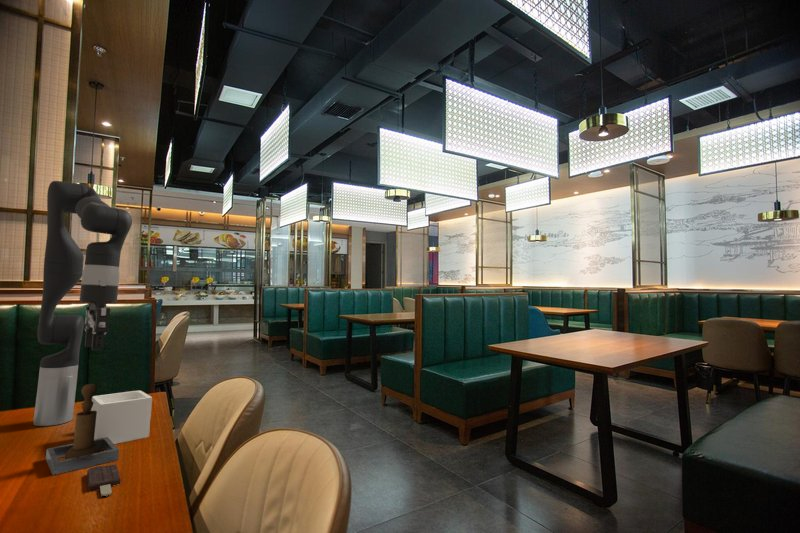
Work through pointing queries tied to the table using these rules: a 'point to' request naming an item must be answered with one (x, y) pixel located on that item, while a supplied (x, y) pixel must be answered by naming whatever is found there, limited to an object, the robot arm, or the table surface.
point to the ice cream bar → (103, 478)
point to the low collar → (81, 457)
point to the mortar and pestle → (85, 427)
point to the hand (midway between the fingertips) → (93, 348)
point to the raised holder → (122, 416)
